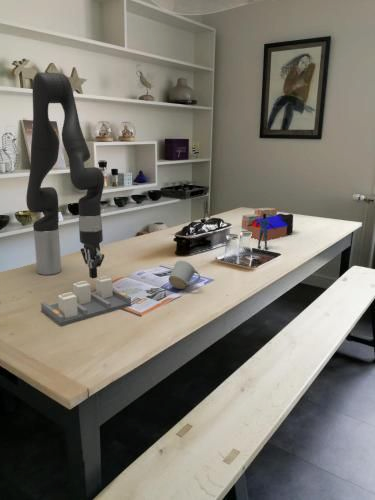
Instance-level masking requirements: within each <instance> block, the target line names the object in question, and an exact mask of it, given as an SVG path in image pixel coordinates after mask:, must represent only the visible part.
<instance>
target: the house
mask: <svg viewBox="0 0 375 500" xmlns="http://www.w3.org/2000/svg"><path fill="white" fill-rule="evenodd" d="M280 218H281V219H283V218H282V217H281V216H280V215H278V216H272V217H266V218H265V219H267V220H268V221H269V223H270V224H271V225H272V226H273V227H274V228H276V230H275V229H274V228H273V227H271V226H269V224H267V241H271V239H272V240H276V239H280V237H281V238H285V236H286V237H287V234H286V233H287V226H288V225H287V224H286V223H285V222H283V221H282V220H281V219H280ZM260 219H263V218H259V219H255V220H254V221H253V222H252V223H250V224H249V225H248V230H247V231H250V232H252V236H251V238H250V239H253V238H254V240H256V239H257V240H256V241H259V238H260V229H261V222H260V223H259V224H258V226H257V227H256V224H257V223H258V221H259V220H260ZM261 242H265V238H264V232H263V235H262V238H261Z"/></svg>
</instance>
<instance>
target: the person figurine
mask: <svg viewBox="0 0 375 500" xmlns="http://www.w3.org/2000/svg"><path fill="white" fill-rule="evenodd" d="M265 218H266V214H263V219H260V220H259V221H258V223H257V224H256V227H257V226H258V224H259V223H260V222H261V229H260V238H259V240H257V249H260V250H261V249H262V251H263V250H268V249H269V247H268V246H267V245H268V240H267V224H269V226H271V227H273V226H272V225H271V224H270V223H269V221H268V220H267V219H265ZM273 228H274V227H273ZM274 229H275V230H276V228H274ZM263 232H264V238H265V241H264V246H261V242H262V241H261V238H262V235H263Z"/></svg>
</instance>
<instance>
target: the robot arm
mask: <svg viewBox="0 0 375 500" xmlns="http://www.w3.org/2000/svg"><path fill="white" fill-rule="evenodd" d="M50 104H60V105H61V108H62V109H63V114H64V120H63V124H62V129H61V141H62V146H63V147H64V149H65V150H64V151H65V152H66V155H67V159H68V163H69V164H68V167H69V173H70V181H71V183H72V185H73V187H75V188H76V189H77V190H79V191H86V194H85V195H84V196H82V197H80V198H79V199H78V215H79V216H78V231H79V242H80V243H81V244H82V245H83V248H80V253H81V256H82V258H83V260H84V264H85V265H87V267H88V271H89V272H88V274H89V278H90V279H96V278H98V267H99V268H100V267H101V266H102V263H103V261H104V259H105V254H104V253H101V246H100V244H101V243H103V241H104V240H103V239H104V235H103V220H102V213H101V212H102V211H101V200H102V196H103V192H104V187H105V175H104V174H103V172H102V170H101V169H100V168H99V167H96V166H89V167H85V165H84V164H85V162H87V161H89V160H90V158H91V153H90V150H89V147H88V144H87V142H86V140H85V139H86V138H85V137H84V134H83V132H82V131H83V129H82V127H81V123H80V118H79V114H78V109H77V105H76V101H75V96H74V91H73V87H72V85H71V82H70V79H69V78H68V77H67V75H66V74H63V73H60V72H37V73H36V74H35V75H34V78H33V81H32V132H31V133H32V134H31V143H30V144H31V145H30V165H29V166H30V167H29V168H30V169H29V176H28V181H27V182H28V183H27V190H26V197H25V198H26V199H25V200H26V201H25V202H26V207H27V209H28V211H30V213H35V214H36V213H37V214H38V213H45V214H44V216H43V217H41V218H39V219H37V220H35V221H34V222H33V223H32V226H33V227H32V229H33V237H34V238H33V239H34V249H35V261H36V262H35V263H36V273H38V274H40V275H44V276H45V275H46V276H47V275H54V274H55V275H56V274H58V273H61V272H62V259H61V257H62V256H61V244H60V232H59V231H60V230H59V222H60V220H59V219H60V217H59V195H58V192H57V190H56V188H54V187H52V186H46V187H43V186H42V183H43V181H44V179H45V178H46V176H48V174H49V172H50V171H51V170H52V169H53V168H54V166H55V165H56V164H57V161H58V159H59V151H60V139H59V136H58V134H57V132H56V130H55V129H54V127H53V125H52V123H51V121H50V119H49V105H50ZM41 186H42V187H41Z"/></svg>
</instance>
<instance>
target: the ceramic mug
mask: <svg viewBox="0 0 375 500" xmlns="http://www.w3.org/2000/svg"><path fill="white" fill-rule="evenodd" d="M195 274H197V275H198V277H197V278H196V279H195V280H193V281H191V279H193V276H194V275H195ZM200 279H201V275H200V272H199V271H198V270H196V269H195V267H194V266H193V265H192V264H191V263H190V262H187V261H186V260H185V261H184V260H178V261H176V262H175V264H174V267H173V268H172V270H171V272H170V274H169V276H168V282H169V284H170V285H171V286H172V287H174V288H175V289H177V290H179V289H180V290H183V289H186V288H187V286H194V285H196V284H198V283H199V281H200Z"/></svg>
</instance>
